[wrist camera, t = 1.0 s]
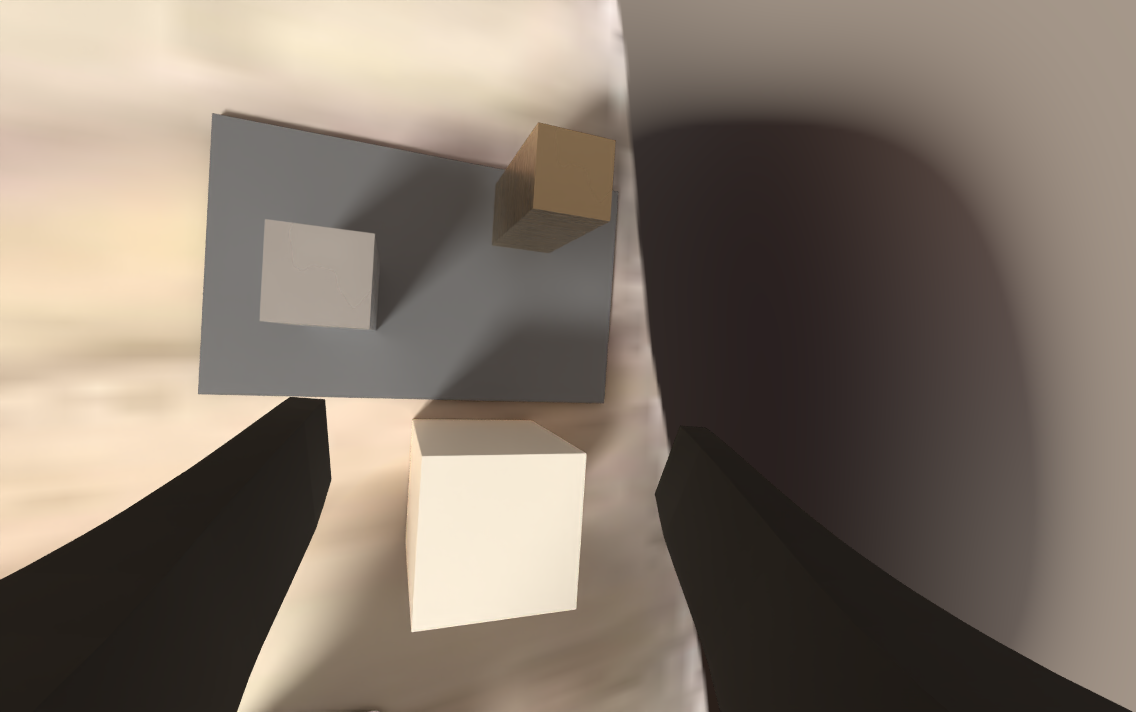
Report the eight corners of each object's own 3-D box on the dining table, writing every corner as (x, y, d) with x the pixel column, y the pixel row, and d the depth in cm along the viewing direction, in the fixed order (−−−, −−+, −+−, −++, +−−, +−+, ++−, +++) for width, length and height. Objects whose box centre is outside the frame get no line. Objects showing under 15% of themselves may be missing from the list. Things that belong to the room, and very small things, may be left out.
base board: (600, 402, 23) (604, 403, 23) (202, 392, 18) (198, 394, 17) (614, 194, 23) (618, 191, 23) (216, 117, 17) (212, 113, 17)
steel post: (376, 330, 19) (369, 328, 13) (302, 325, 18) (259, 321, 12) (380, 265, 19) (374, 233, 13) (306, 257, 18) (265, 218, 12)
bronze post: (549, 253, 21) (610, 221, 15) (491, 245, 21) (533, 208, 15) (552, 194, 21) (615, 140, 15) (495, 184, 21) (538, 122, 15)
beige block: (524, 532, 22) (576, 609, 16) (405, 541, 20) (411, 632, 14) (531, 420, 22) (586, 453, 16) (412, 419, 20) (421, 456, 14)
